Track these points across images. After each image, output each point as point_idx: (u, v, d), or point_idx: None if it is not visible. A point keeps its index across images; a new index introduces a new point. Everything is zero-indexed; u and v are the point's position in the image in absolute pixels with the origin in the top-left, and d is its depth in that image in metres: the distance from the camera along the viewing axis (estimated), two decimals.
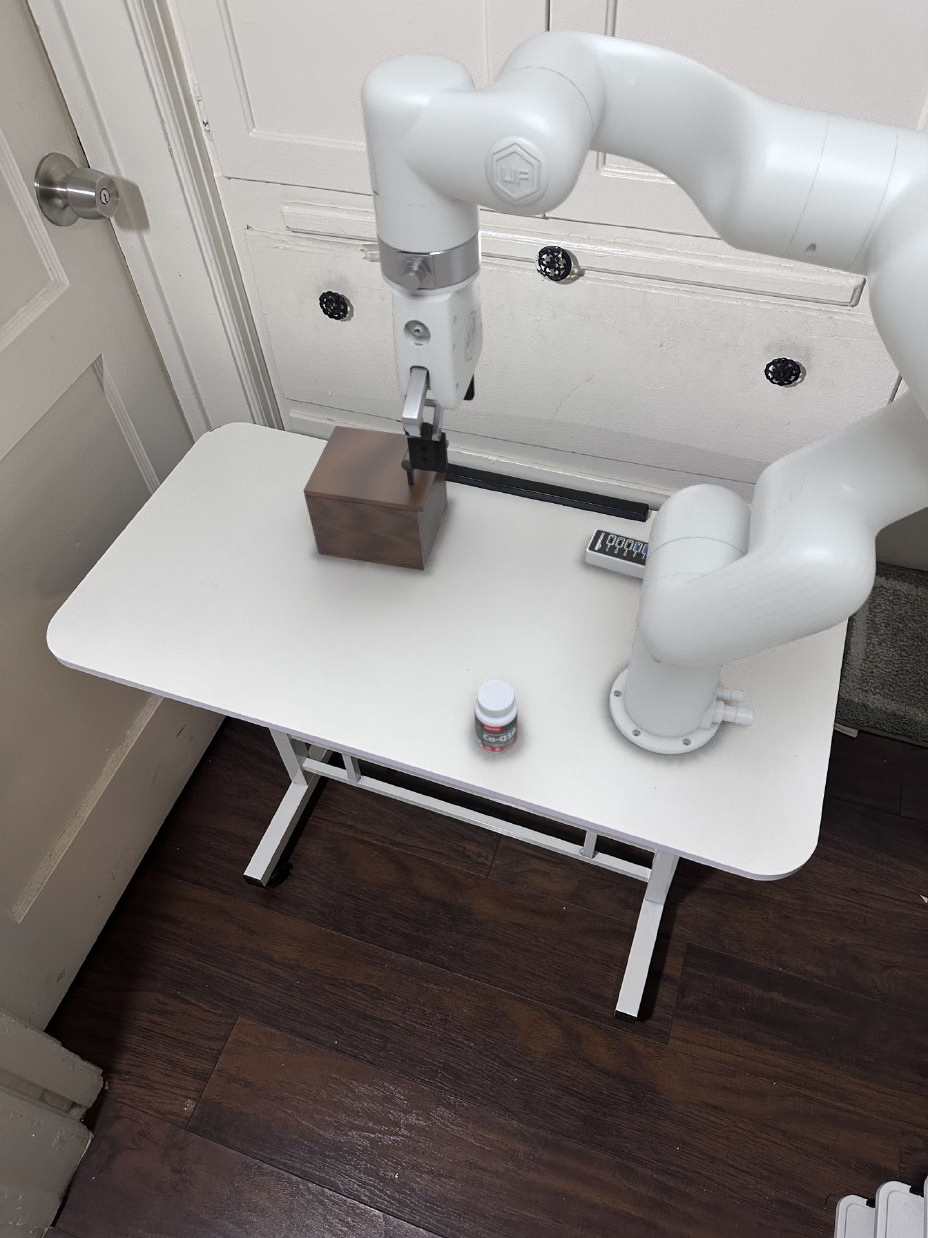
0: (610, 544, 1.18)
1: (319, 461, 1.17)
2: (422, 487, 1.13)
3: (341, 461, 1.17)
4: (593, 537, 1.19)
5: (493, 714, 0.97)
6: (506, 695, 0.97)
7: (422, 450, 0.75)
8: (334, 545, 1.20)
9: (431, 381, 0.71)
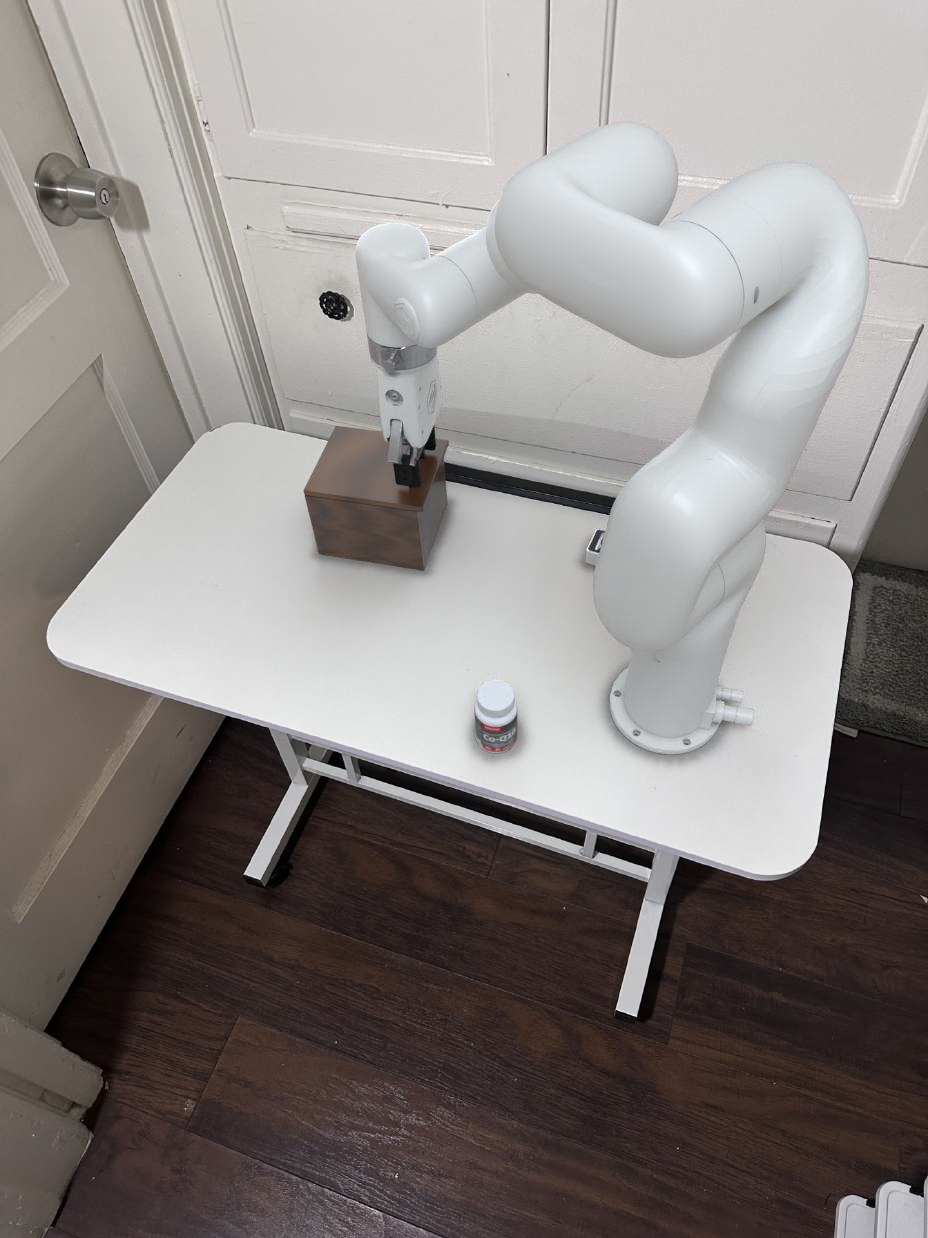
0: None
1: (319, 461, 1.17)
2: (422, 487, 1.13)
3: (341, 461, 1.17)
4: (593, 537, 1.19)
5: (493, 714, 0.97)
6: (506, 695, 0.97)
7: (403, 472, 1.10)
8: (334, 545, 1.20)
9: (404, 429, 1.03)
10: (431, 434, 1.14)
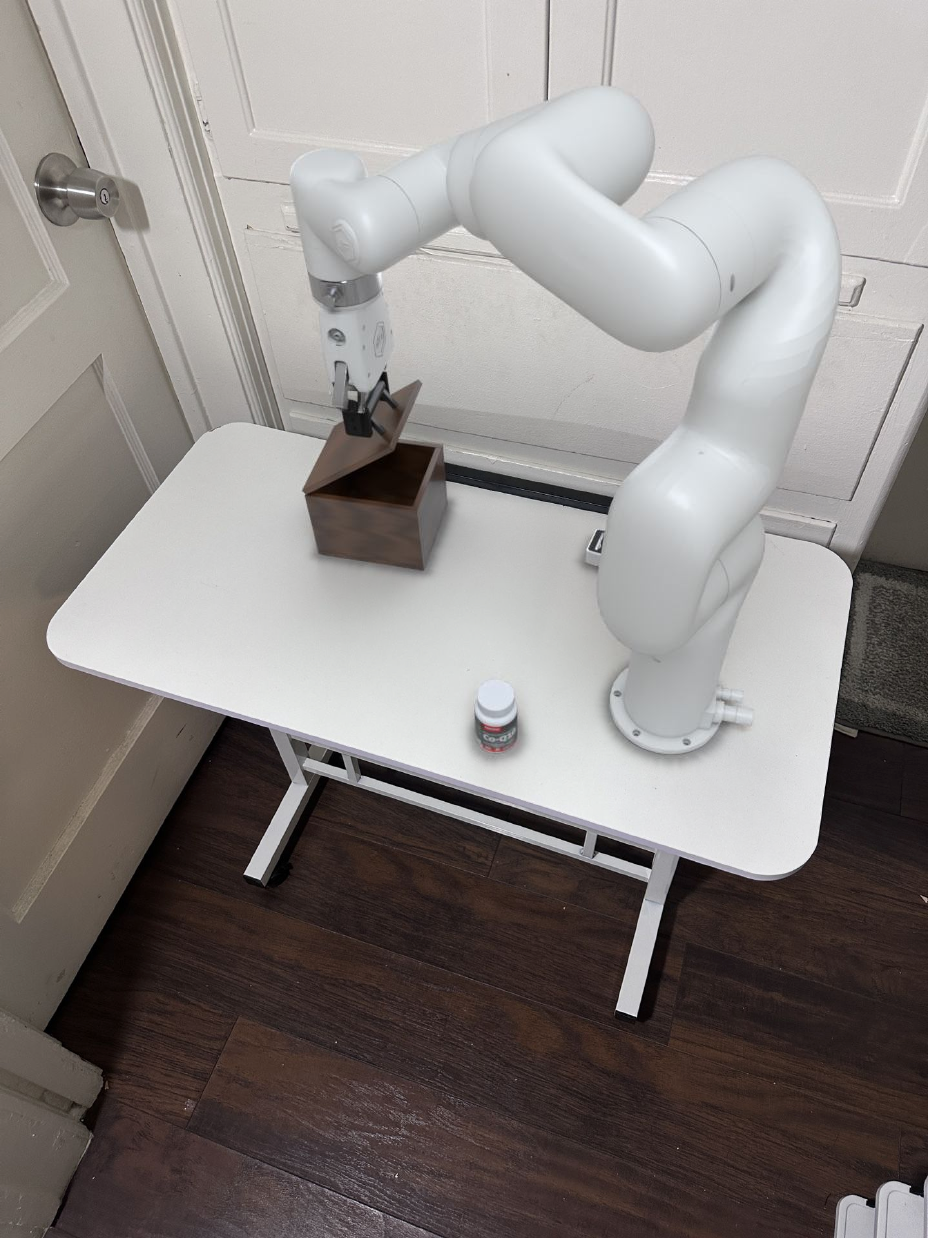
0: None
1: (317, 460, 1.17)
2: (391, 430, 1.07)
3: (333, 450, 1.15)
4: (593, 537, 1.19)
5: (493, 714, 0.97)
6: (506, 695, 0.97)
7: (352, 421, 1.05)
8: (334, 545, 1.20)
9: (349, 371, 0.99)
10: None
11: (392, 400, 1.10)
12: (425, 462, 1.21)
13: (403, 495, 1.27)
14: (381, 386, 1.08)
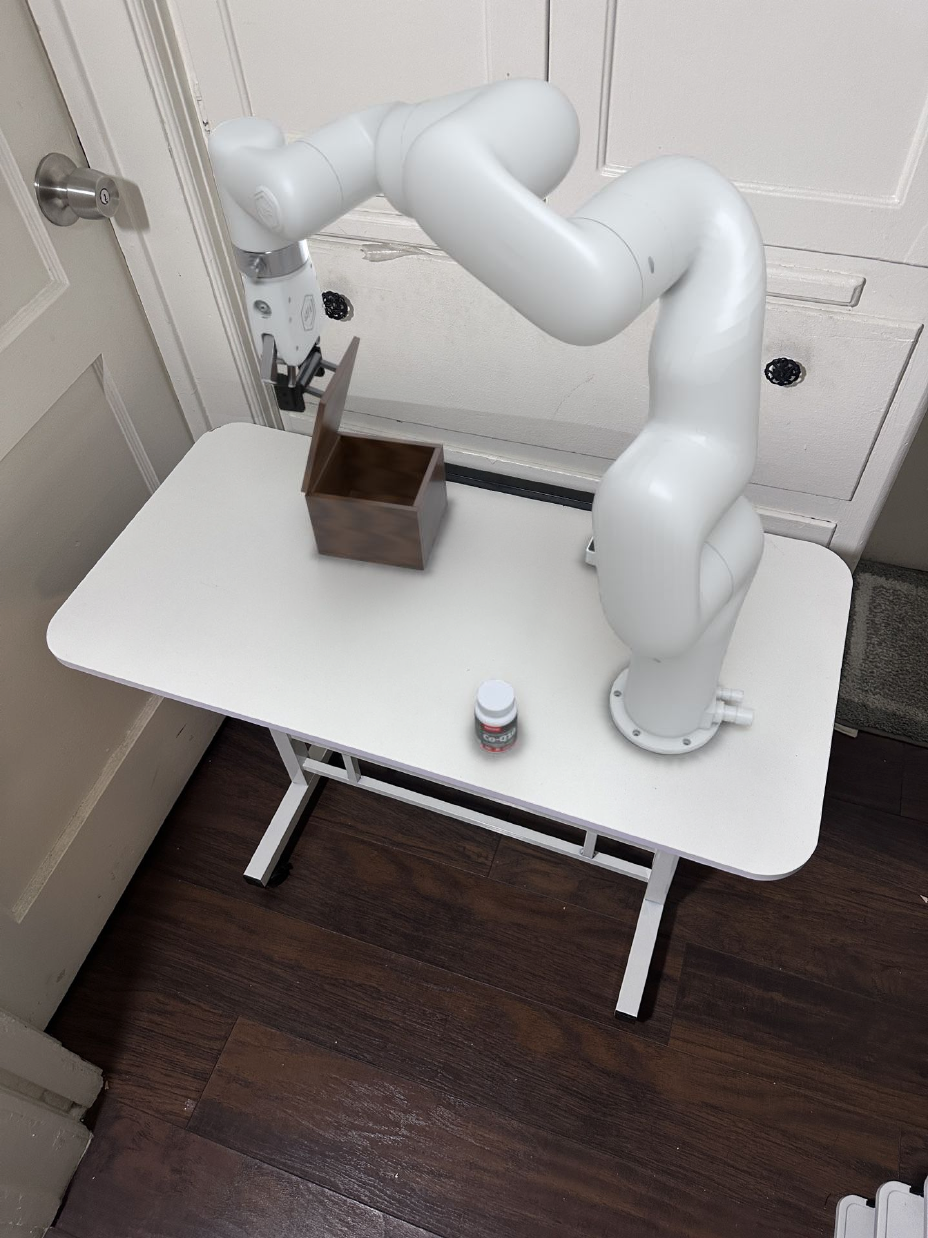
0: None
1: None
2: None
3: None
4: None
5: (493, 714, 0.97)
6: (506, 695, 0.97)
7: (284, 395, 1.05)
8: (334, 545, 1.20)
9: (277, 344, 0.98)
10: None
11: (333, 365, 1.08)
12: (425, 462, 1.21)
13: (403, 495, 1.27)
14: (313, 357, 1.07)
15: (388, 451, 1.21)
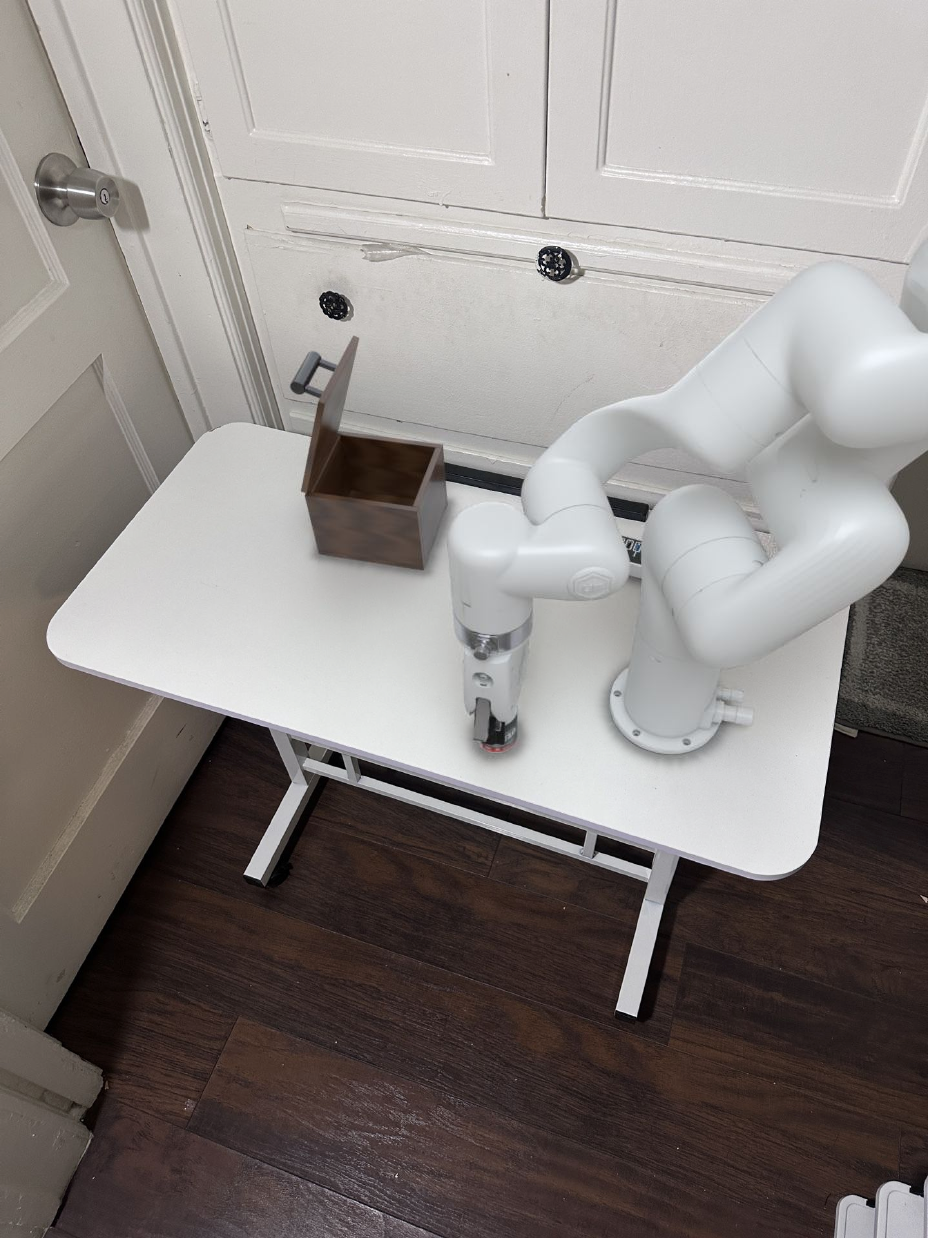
0: None
1: None
2: None
3: None
4: None
5: (493, 715, 0.97)
6: None
7: None
8: (334, 545, 1.20)
9: (492, 707, 0.90)
10: None
11: (332, 365, 1.08)
12: (425, 462, 1.21)
13: (403, 495, 1.27)
14: (312, 357, 1.07)
15: (388, 451, 1.21)
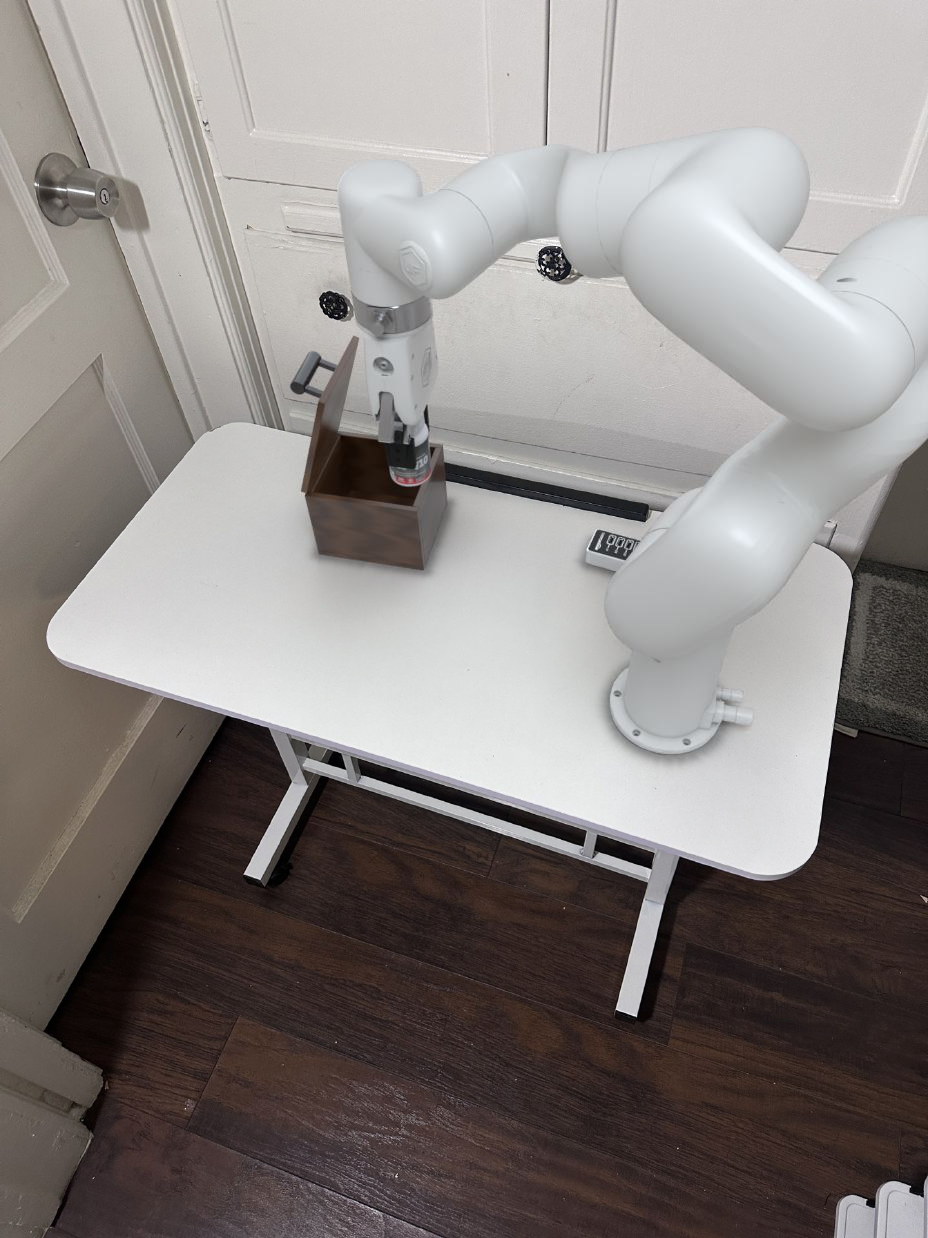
0: (610, 544, 1.18)
1: None
2: None
3: None
4: (593, 537, 1.19)
5: None
6: None
7: (396, 451, 0.97)
8: (334, 545, 1.20)
9: (395, 403, 0.90)
10: (424, 417, 1.00)
11: (332, 365, 1.08)
12: None
13: (403, 495, 1.27)
14: (312, 357, 1.07)
15: None
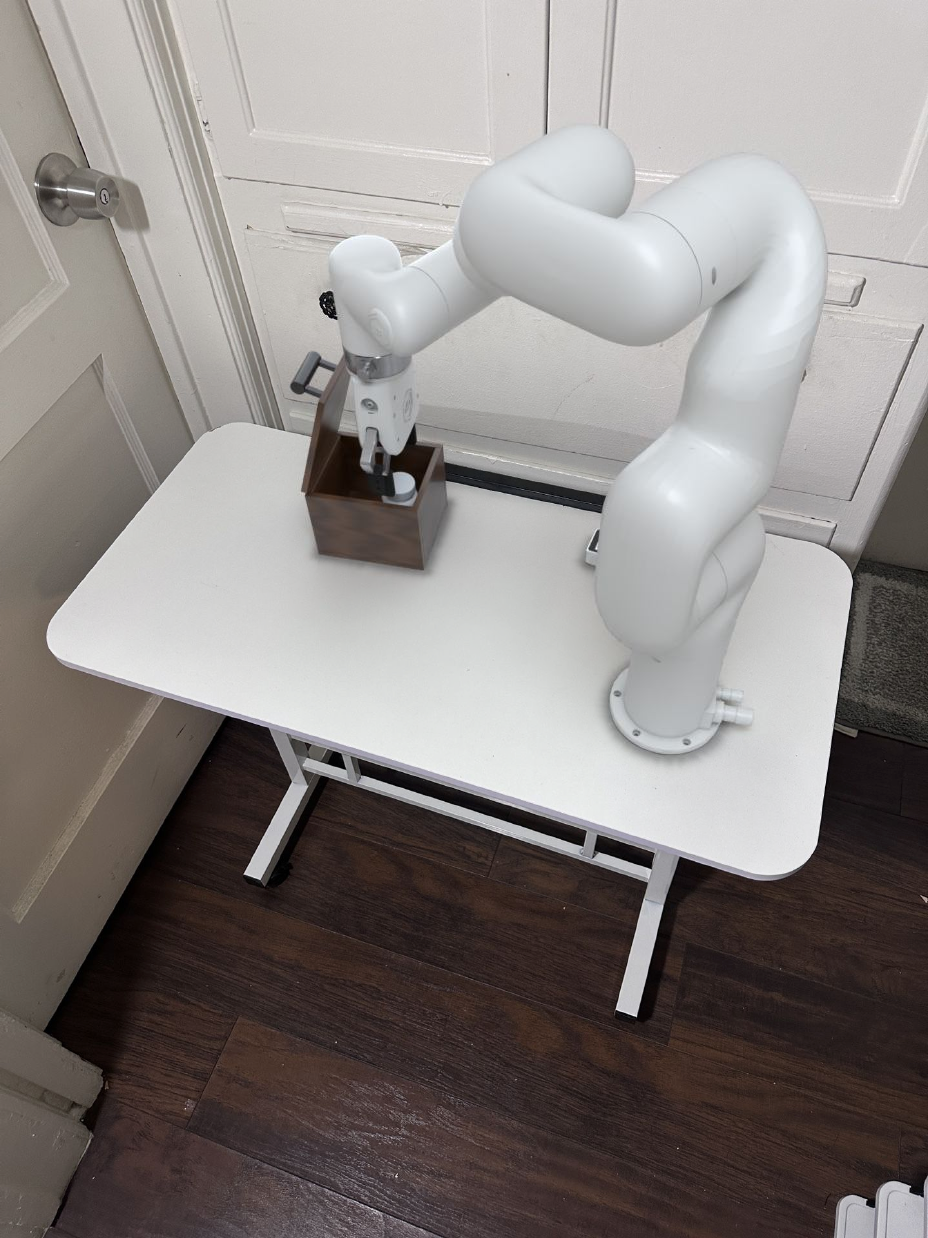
0: None
1: None
2: None
3: None
4: (593, 537, 1.19)
5: (396, 498, 1.17)
6: (408, 483, 1.17)
7: (376, 482, 1.10)
8: (334, 545, 1.20)
9: (380, 437, 1.05)
10: (411, 428, 1.16)
11: (332, 365, 1.08)
12: (425, 462, 1.21)
13: None
14: (312, 357, 1.07)
15: None
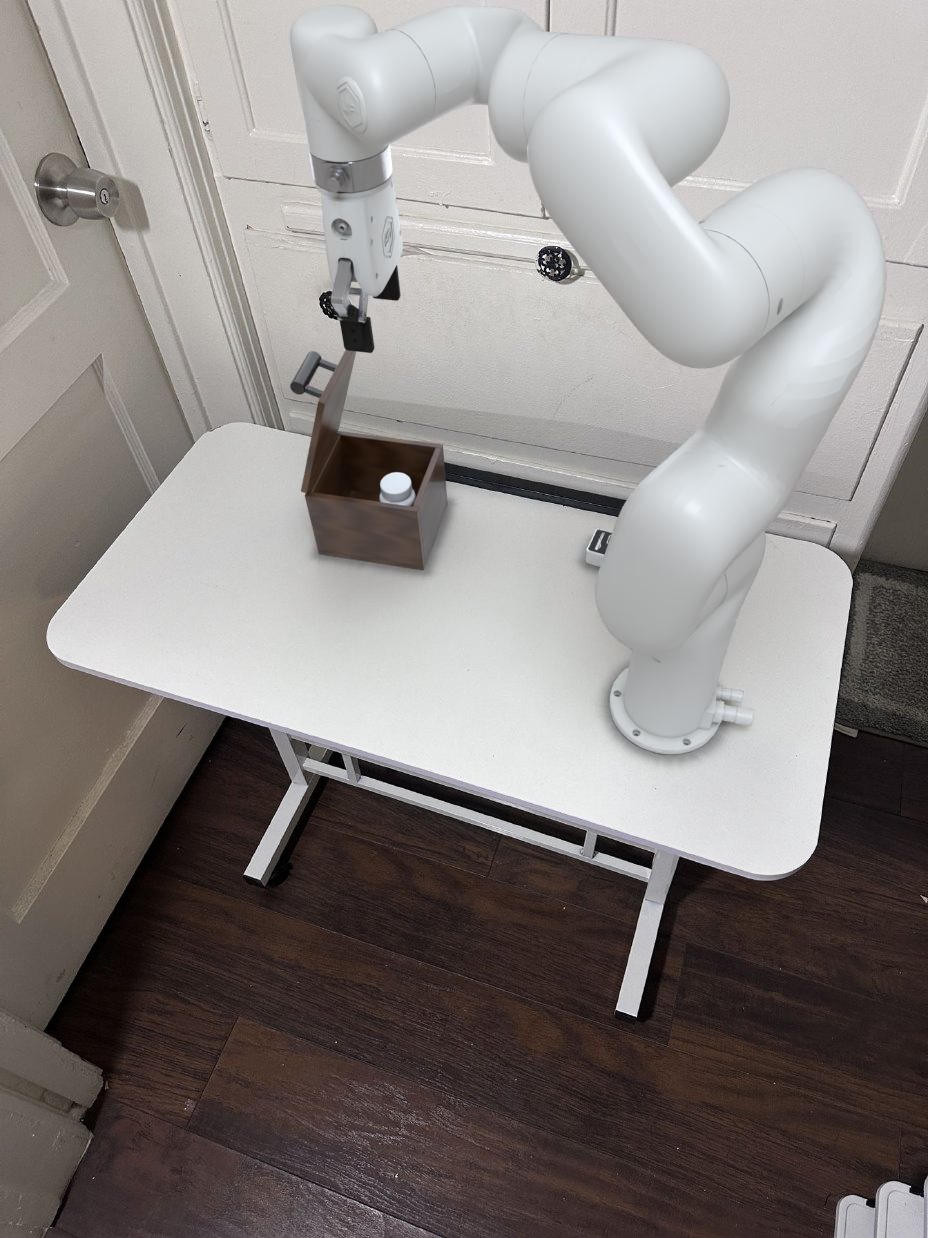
0: None
1: None
2: None
3: None
4: (593, 537, 1.19)
5: (393, 498, 1.17)
6: (404, 483, 1.17)
7: (352, 332, 0.94)
8: (334, 545, 1.20)
9: (355, 270, 0.89)
10: (394, 278, 1.00)
11: (332, 365, 1.08)
12: (425, 462, 1.21)
13: None
14: (312, 357, 1.07)
15: (388, 451, 1.21)
